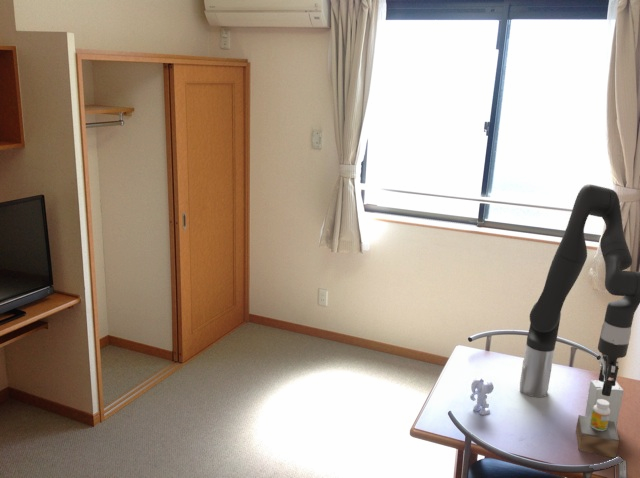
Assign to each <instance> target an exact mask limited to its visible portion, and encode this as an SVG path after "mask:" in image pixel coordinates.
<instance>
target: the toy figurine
mask: <svg viewBox="0 0 640 478" xmlns="http://www.w3.org/2000/svg"><path fill="white" fill-rule="evenodd" d="M470 385H471V392H472V394H471V395H470V400H471V401H472V402H475V401H476V400H477V401H476V404H475V405H474V406H473V409H472V410H473V412H478V413H479V415H481V416H484V415H485V416H486V415H490V413H491V411H490V408H489V407H490V405H489V403H487V398H488V395H489V394H492V392H493V391H494V384H493V382H492V381H491V380H487V379H483V378H475V379H474V380H473V381H472V383H471V384H470ZM475 395H477V399H476V397H475Z"/></svg>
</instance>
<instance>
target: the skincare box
mask: <svg viewBox="0 0 640 478" xmlns="http://www.w3.org/2000/svg"><path fill="white" fill-rule="evenodd" d="M603 384H604V382H601V381H599V379H598V380H595V379H591V380H590V382H589V388H588V394H587V395H588V396H587V400H586V405H585V406H586V407H585V414H584V416H586V417H591V416H592V411H593V407H594V405H596V402H597V400H598V399H603V400H606V401H608V402H609V409H610V416H609V421H612V422H614V423H615V427H616V430H617V428H618V423H619V417H620V413H621V412H620V411H621V407H622V401H623V395H624V389H623V388H622V387H621V385H620V384H619V383H618V381H616V382H615V386H612V390H611V394H610V396H604V395H602V388H603Z"/></svg>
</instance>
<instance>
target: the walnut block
mask: <svg viewBox="0 0 640 478" xmlns="http://www.w3.org/2000/svg"><path fill="white" fill-rule="evenodd" d="M577 417H578V418H577V423H576V427H575V428H576V429H575V437H576V442H577V448H578V451H581V452H584V453H590V454H595V455H599V456H605V457H609V458H612V459H613V458H614V457H616V458H617V453H618V448H619V443H620V438H619V434H618V432H617V429H616V427H615V423H614V422H612V421H608V426H607V429H606V430H605V431H598V430H595V429H594V428H592V427H591V426H590V421H591V417H586V416H585V415H580V414H578V416H577ZM614 459H615V458H614Z"/></svg>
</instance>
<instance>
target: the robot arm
mask: <svg viewBox="0 0 640 478" xmlns="http://www.w3.org/2000/svg"><path fill="white" fill-rule="evenodd" d="M617 193H618V192H616V191H615V190H614V189H611V188H607V187H605V186H600V185H596V184H589V183H588V184H585V185H583V186H582V187H581V188H580V189H579V191H578V194H577V196H576V197H575V199H574V200H575V201H574V203H573V207H572V210H571V214H570V217H569V219H568V223H567V225H566V228H565V230H564V234H563V236H562V237H561V238H562V239H560V240H561V241H560V243H559V245H558V247H557V249H556V251H555V254H554V256H553V258H552V261H551V264H550V266H549V270H548V273H547V276H546V279H545V283H544V287H543V289H542V291H541V294H540V296H539V297H538V300H537V302H535V303H534V305H533V306H532V308H531V310H530V313H529V321H530V322H529V323H530V324H529V329H528V333H527V338H526V343H525V351H524V358H523V361H522V367H521V375H520V381H519V392H520V393H524V394H525V395H527V396H531V397H536V398H542V397H545V396H547V395H548V392H549V385H550V379H551V374H552V368H553V367H552V366H553V361H554V355H555V348H556V344H557V339H558V336H559V335H558V334H559V328H560V321H561V315H562V309H563V306H564V303H565V300H566V299H567V297H568V295H569V294H570V291H571V290H572V289H573V287H574V285H575V283H576V281H577V280H578V278H579V276H580V274H581V272H582V269H583V267H584V265H585V263H586V261H587V258H588V250H587V244H586V240H585V226H586V222H587V220H588V218H589V216H592V217H596V218H597V217H599V218H602V220H603V222H604V224H605V230H604V231H603V234H602V236H601V238H600V244H599V246H600V247H599V248H600V250H601V255H602V258H603V260H604V268H605V275H604V277H605V279H604V287H605V289H606V291H607V292H608V293H609V294H610V295H612V296H617V297H623V298H620V299H619V300H618V299H617V300H612V301H610V302H608V304H607V306H606V309H605V315H604V319H603V324H602V325H601V329H600V335H599V339H598V340H599V341H598V344H597V350H598V352H599V353H600V355H601V356H600V359H599V373H598V374H599V375H598V380H599V381H601V382H604V384H603V388H602V395H604V396H610V394H611V390H612V386H615V382H617V376H618V373H619V361H618V359H622V358H625V357H626V356H627V352H628V348H629V343H630V339H631V335H632V325H633V321H634V317H635V316H634V315H635V313H636V311H637V309H638V308H639V306H640V271H637V270H636V271H635V270H633V271H632V270H631V271H630V270H627V269H629V268H630V267H631V266H632V264H633V258H632V254H631V252H630V250H629V249H630V248H629V246H628V243H627V241H626V237H625V234H624V227H623V226H624V225H623V218H622V212H621V211H622V210H621V204H620V203H621V202H620V199H619V196H618V194H617ZM609 378H610V380H609Z"/></svg>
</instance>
